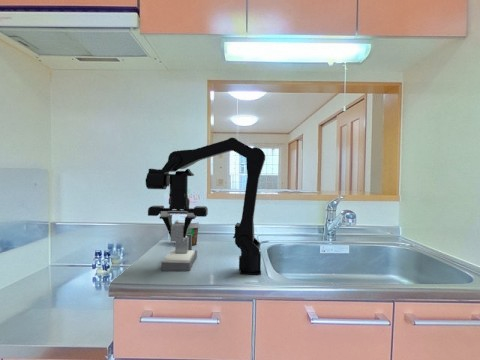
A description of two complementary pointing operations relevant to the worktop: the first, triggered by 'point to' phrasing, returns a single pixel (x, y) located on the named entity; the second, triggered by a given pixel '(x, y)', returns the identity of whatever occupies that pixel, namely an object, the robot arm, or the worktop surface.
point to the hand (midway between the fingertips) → (178, 237)
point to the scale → (180, 259)
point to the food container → (192, 231)
